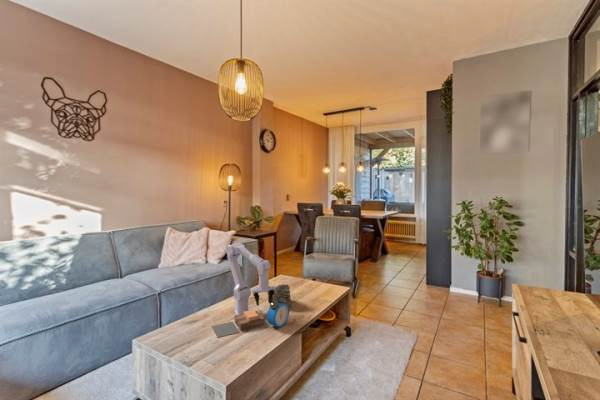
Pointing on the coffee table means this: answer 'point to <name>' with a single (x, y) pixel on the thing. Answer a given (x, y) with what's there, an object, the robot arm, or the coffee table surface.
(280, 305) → the alarm clock
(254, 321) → the tan flat block
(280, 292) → the rock
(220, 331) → the mat
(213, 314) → the coffee table surface
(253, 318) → the peach rectangular block
